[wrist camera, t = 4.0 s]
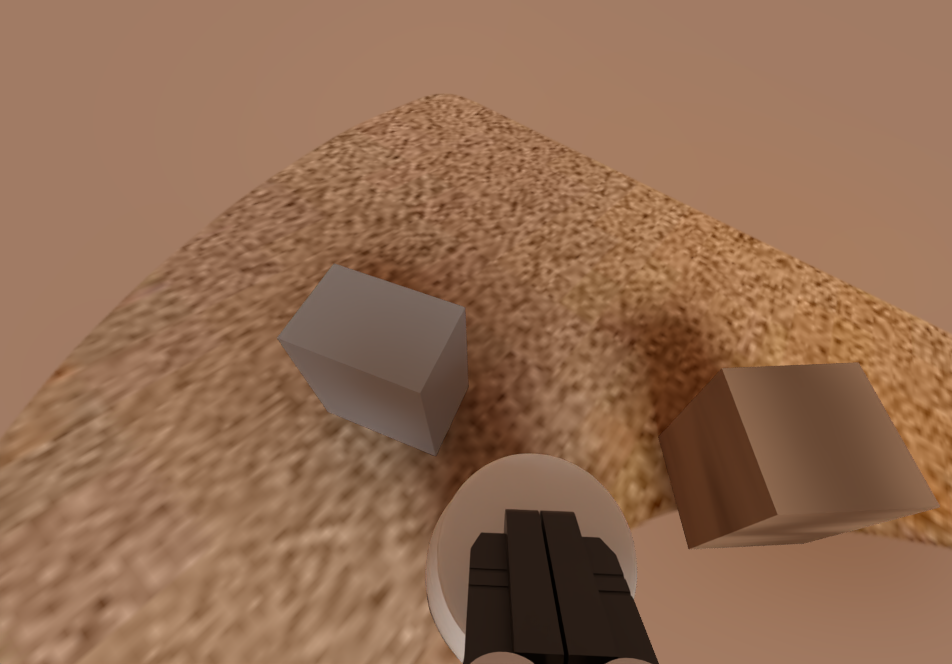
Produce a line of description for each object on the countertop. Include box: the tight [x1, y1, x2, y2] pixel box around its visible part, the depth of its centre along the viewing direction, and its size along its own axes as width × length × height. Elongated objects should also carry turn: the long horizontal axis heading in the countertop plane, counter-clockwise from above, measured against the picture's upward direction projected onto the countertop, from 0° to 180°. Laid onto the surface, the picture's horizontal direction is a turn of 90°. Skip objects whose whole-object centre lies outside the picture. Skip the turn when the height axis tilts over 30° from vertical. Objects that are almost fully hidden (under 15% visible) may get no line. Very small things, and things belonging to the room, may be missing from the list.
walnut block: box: [659, 363, 940, 549], centre depth 18 cm, size 5×5×7 cm
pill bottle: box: [425, 453, 637, 663], centre depth 15 cm, size 6×6×10 cm
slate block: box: [277, 264, 469, 456], centre depth 21 cm, size 6×4×7 cm, turn 68°
